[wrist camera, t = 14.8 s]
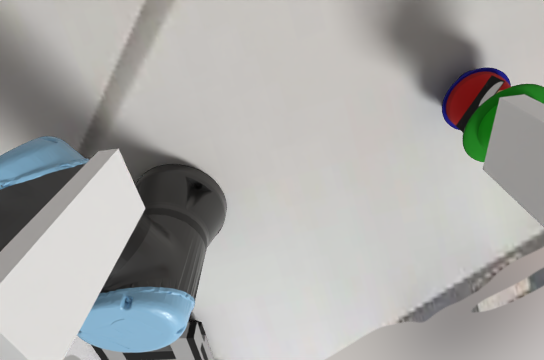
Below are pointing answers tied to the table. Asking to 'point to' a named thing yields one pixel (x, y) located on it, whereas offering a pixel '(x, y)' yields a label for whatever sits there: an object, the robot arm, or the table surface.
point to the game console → (170, 348)
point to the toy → (481, 105)
